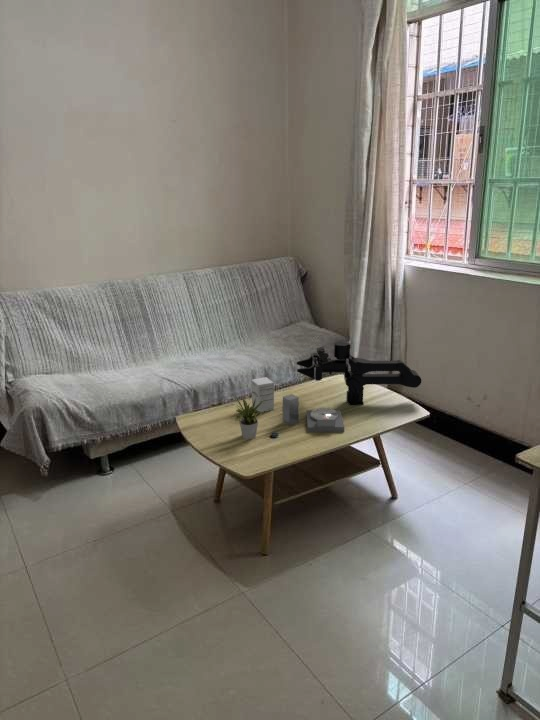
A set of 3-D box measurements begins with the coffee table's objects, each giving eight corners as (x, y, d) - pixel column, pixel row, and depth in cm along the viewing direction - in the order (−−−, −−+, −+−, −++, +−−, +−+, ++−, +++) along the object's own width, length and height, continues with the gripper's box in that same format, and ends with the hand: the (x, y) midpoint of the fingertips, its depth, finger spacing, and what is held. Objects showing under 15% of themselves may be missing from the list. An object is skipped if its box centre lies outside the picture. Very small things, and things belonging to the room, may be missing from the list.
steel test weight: (291, 418, 228) (291, 393, 224) (298, 422, 224) (298, 397, 221) (282, 421, 225) (282, 396, 222) (289, 425, 222) (289, 400, 218)
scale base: (339, 414, 231) (340, 402, 229) (344, 431, 216) (344, 419, 214) (306, 414, 231) (306, 402, 230) (308, 432, 216) (308, 419, 214)
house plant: (220, 439, 211) (218, 399, 206) (238, 425, 223) (237, 387, 217) (253, 447, 205) (251, 406, 200) (270, 432, 216) (270, 393, 211)
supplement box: (251, 406, 240) (250, 379, 236) (267, 403, 243) (266, 376, 239) (258, 413, 234) (257, 385, 230) (274, 409, 237) (274, 382, 232)
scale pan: (336, 410, 230) (336, 407, 230) (339, 422, 220) (339, 419, 219) (309, 410, 230) (309, 408, 230) (311, 422, 220) (311, 419, 219)
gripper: (331, 341, 244) (296, 342, 245) (336, 355, 227) (297, 355, 227) (331, 365, 248) (296, 366, 248) (335, 381, 230) (297, 381, 230)
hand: (296, 366), depth 238 cm, fingers open, 9 cm apart
